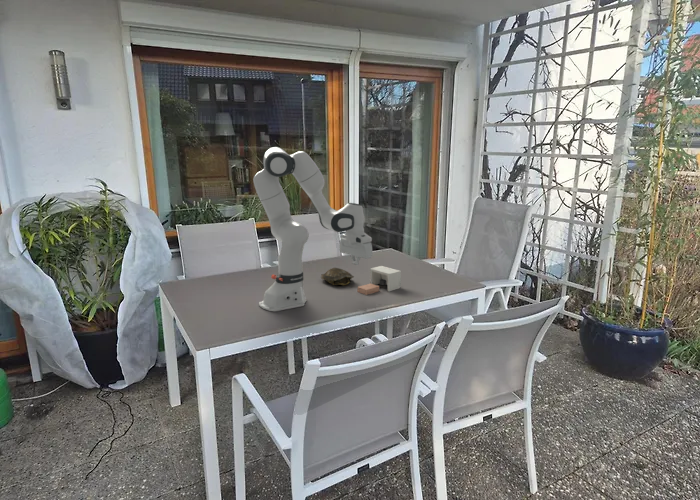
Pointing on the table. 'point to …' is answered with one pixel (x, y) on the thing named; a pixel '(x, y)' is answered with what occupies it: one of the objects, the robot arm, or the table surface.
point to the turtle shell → (337, 276)
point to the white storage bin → (386, 277)
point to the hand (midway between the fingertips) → (355, 264)
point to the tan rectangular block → (368, 289)
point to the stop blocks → (383, 282)
